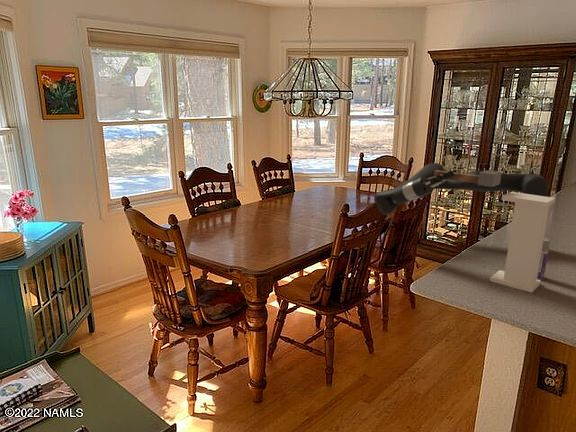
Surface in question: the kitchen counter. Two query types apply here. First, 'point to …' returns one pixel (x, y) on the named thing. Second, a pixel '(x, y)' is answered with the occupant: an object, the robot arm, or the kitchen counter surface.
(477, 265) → the kitchen counter surface
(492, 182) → the mallet
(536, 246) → the stand
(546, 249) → the container
